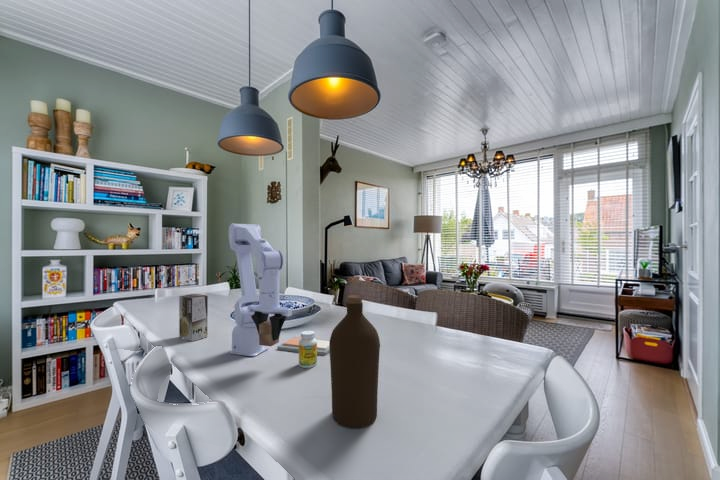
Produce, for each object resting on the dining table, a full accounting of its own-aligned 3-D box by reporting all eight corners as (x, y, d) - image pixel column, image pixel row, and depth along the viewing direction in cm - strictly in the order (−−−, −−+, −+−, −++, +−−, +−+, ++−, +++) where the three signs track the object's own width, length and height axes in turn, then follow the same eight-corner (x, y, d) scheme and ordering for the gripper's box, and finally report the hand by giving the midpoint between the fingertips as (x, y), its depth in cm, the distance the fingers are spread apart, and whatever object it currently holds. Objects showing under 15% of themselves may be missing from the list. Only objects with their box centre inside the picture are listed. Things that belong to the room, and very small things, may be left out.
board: (277, 349, 104) (277, 344, 104) (293, 339, 115) (293, 335, 115) (325, 355, 99) (325, 350, 99) (338, 344, 109) (338, 340, 109)
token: (259, 345, 88) (259, 324, 88) (267, 340, 92) (267, 320, 92) (271, 346, 87) (271, 325, 87) (278, 342, 91) (279, 321, 91)
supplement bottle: (312, 360, 95) (312, 329, 95) (320, 365, 90) (320, 333, 91) (295, 363, 92) (296, 331, 92) (303, 369, 87) (303, 336, 88)
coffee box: (208, 337, 118) (208, 295, 118) (191, 341, 112) (191, 297, 112) (195, 333, 122) (195, 293, 123) (178, 337, 117) (178, 295, 117)
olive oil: (355, 438, 57) (355, 303, 57) (318, 416, 64) (319, 296, 64) (390, 414, 65) (390, 296, 65) (354, 397, 72) (354, 290, 72)
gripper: (298, 291, 91) (297, 337, 91) (259, 288, 96) (258, 332, 96) (283, 295, 84) (283, 344, 84) (242, 292, 90) (242, 338, 90)
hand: (269, 338), depth 90 cm, fingers closed on token, 4 cm apart
